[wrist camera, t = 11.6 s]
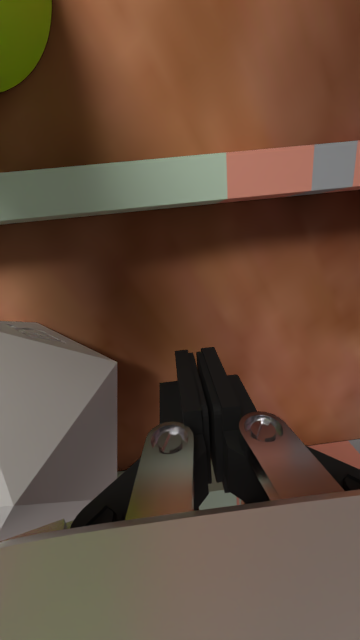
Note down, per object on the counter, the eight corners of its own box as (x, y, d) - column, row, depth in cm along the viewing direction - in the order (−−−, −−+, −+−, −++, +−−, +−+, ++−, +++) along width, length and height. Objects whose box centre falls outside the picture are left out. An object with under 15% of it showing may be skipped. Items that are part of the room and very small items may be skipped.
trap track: (-228, 206, 10) (-319, 201, 8) (618, 128, 11) (711, 108, 9) (-53, 512, 16) (-83, 551, 14) (495, 437, 17) (537, 463, 15)
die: (139, 296, 13) (-215, 235, 4) (189, 481, 11) (-192, 951, 3) (36, 344, 16) (-272, 363, 8) (65, 490, 15) (-274, 712, 6)
